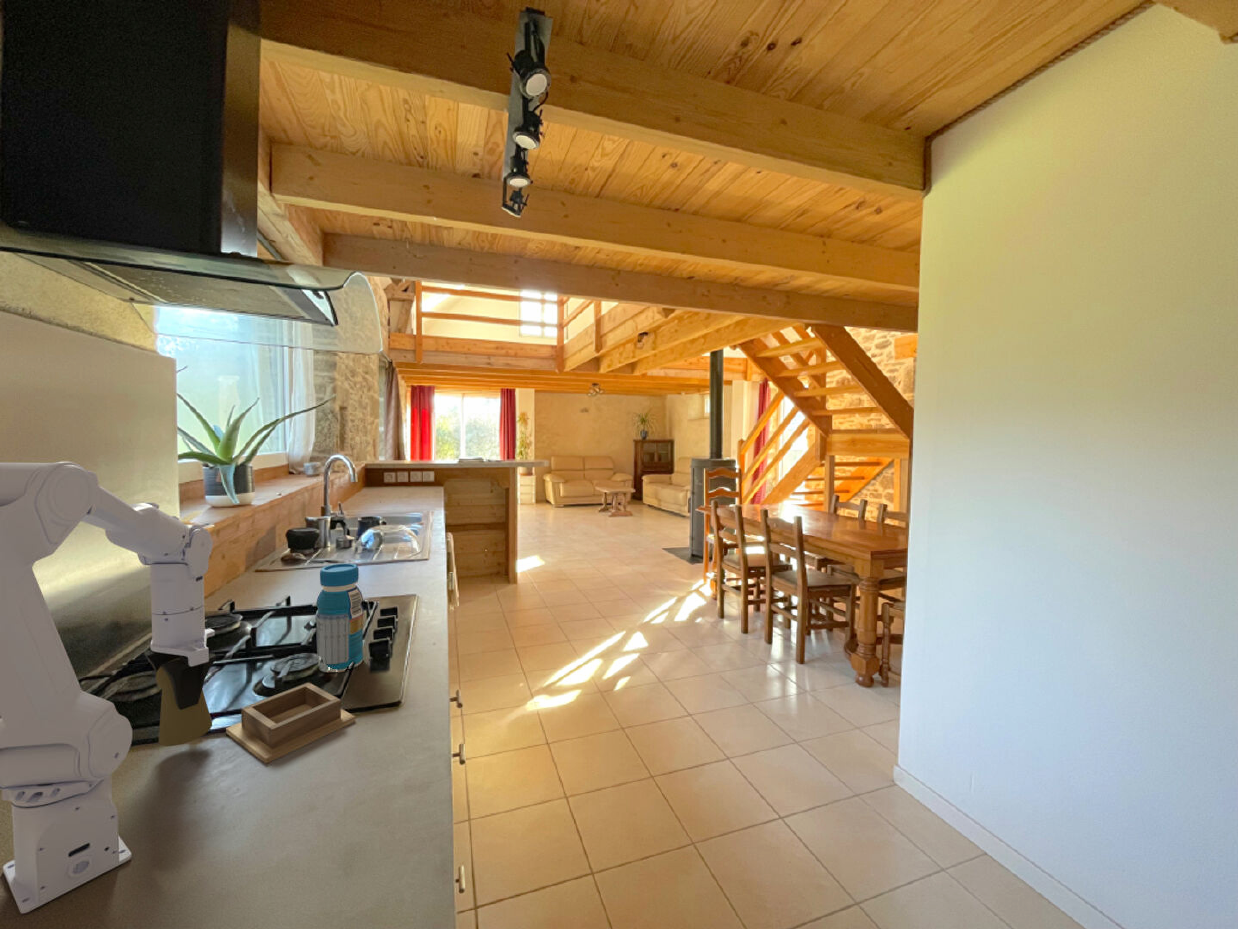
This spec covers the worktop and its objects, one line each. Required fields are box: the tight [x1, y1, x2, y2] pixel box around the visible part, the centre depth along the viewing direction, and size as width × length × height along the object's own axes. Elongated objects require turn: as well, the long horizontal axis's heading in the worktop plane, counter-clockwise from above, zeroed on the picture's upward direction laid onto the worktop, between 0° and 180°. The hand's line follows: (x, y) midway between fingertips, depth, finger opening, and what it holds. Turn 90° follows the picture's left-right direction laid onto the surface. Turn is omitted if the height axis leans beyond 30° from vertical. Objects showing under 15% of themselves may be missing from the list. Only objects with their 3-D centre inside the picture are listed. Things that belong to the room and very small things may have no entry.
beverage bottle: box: [315, 562, 365, 673], centre depth 102 cm, size 8×8×20 cm
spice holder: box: [225, 682, 356, 764], centre depth 81 cm, size 13×13×4 cm
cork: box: [155, 658, 213, 747], centre depth 74 cm, size 6×6×11 cm
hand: (180, 700), depth 73 cm, fingers closed on cork, 5 cm apart
